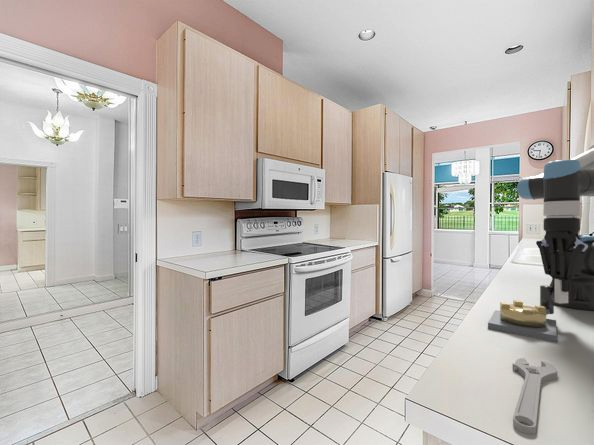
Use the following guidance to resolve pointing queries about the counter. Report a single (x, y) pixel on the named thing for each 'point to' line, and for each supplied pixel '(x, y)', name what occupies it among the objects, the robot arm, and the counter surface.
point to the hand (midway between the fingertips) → (561, 302)
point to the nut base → (524, 328)
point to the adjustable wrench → (530, 393)
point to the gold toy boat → (529, 310)
